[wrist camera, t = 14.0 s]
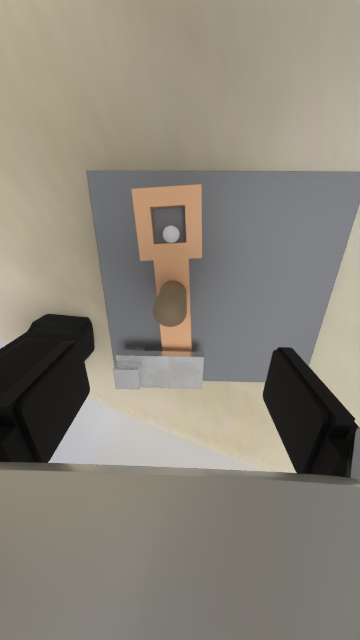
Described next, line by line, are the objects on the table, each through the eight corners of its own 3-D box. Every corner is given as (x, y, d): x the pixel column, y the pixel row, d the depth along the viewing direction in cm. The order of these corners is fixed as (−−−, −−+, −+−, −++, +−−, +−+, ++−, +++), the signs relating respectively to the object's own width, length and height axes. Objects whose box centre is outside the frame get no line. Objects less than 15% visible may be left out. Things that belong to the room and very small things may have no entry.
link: (134, 191, 22) (111, 172, 15) (200, 187, 22) (207, 166, 15) (154, 359, 30) (145, 398, 23) (202, 358, 30) (207, 396, 23)
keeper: (127, 334, 30) (111, 362, 24) (200, 336, 30) (205, 364, 24) (130, 362, 32) (116, 395, 26) (199, 364, 32) (202, 397, 26)
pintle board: (92, 174, 23) (67, 159, 18) (358, 175, 22) (404, 160, 17) (119, 372, 33) (108, 395, 29) (298, 376, 33) (317, 400, 28)
